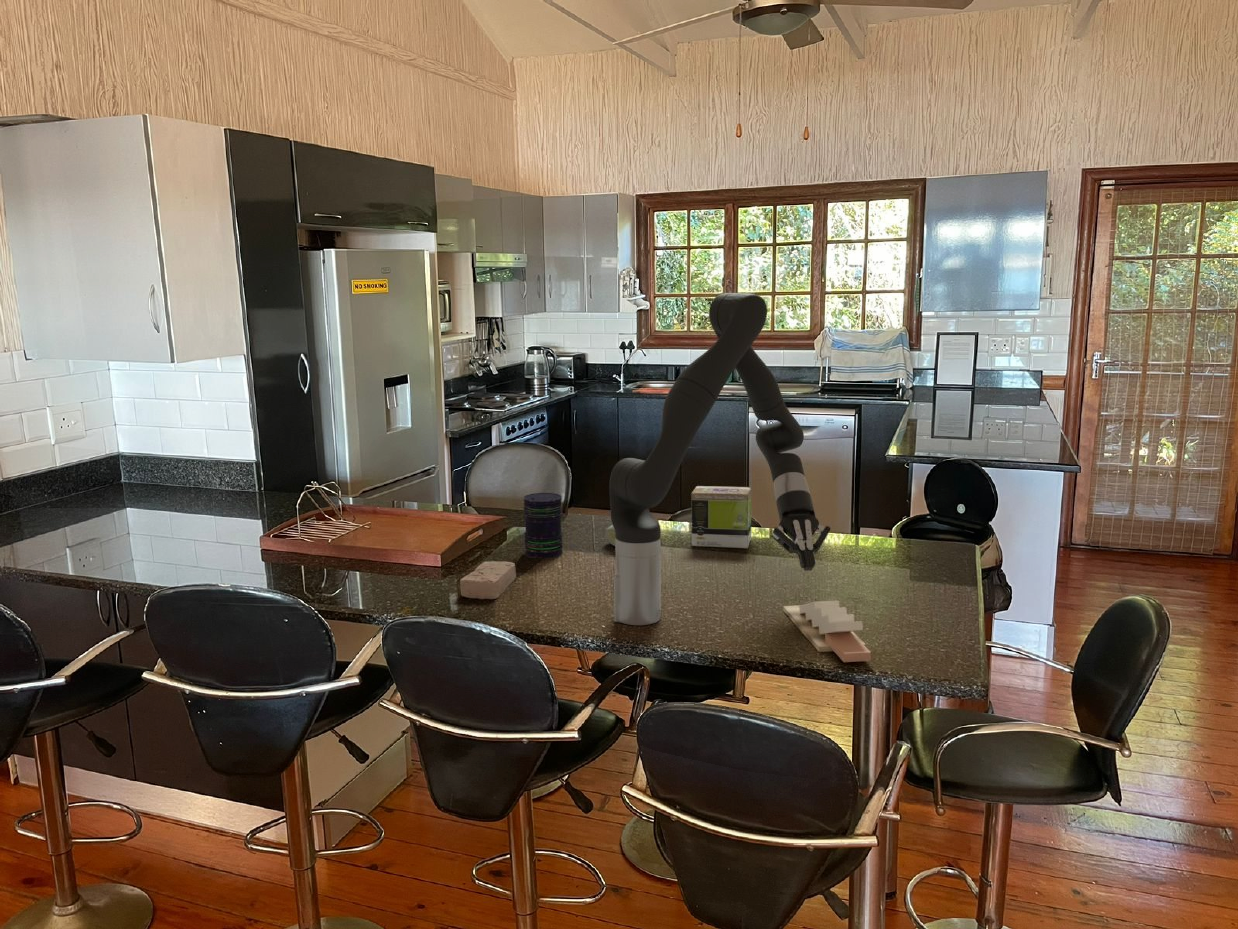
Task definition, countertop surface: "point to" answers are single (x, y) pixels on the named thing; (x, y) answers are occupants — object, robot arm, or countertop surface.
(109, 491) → the countertop surface
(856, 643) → the tile
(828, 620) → the tile
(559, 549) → the storage jar
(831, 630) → the tile
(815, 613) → the tile
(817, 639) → the domino board
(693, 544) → the tea box
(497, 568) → the brick
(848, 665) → the countertop surface
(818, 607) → the tile
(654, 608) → the robot arm
